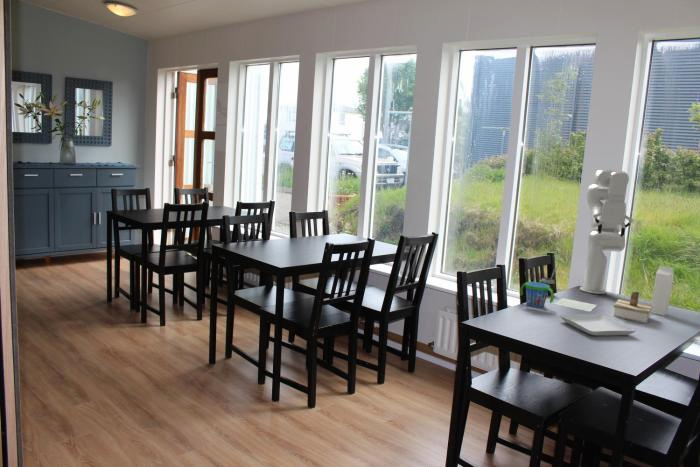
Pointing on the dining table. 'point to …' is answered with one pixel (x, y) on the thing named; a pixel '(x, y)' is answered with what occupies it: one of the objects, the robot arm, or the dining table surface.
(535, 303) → the snack cup
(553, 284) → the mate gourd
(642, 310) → the lid
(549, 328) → the dining table surface
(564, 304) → the mat
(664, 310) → the milk
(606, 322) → the salad plate
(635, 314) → the cream square dish
